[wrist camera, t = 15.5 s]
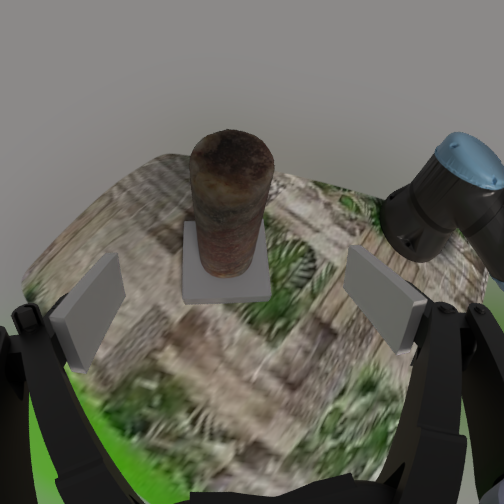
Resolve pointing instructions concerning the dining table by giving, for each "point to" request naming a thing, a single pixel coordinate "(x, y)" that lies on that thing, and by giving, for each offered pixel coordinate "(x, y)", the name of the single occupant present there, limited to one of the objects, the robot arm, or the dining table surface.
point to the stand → (223, 289)
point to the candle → (229, 198)
